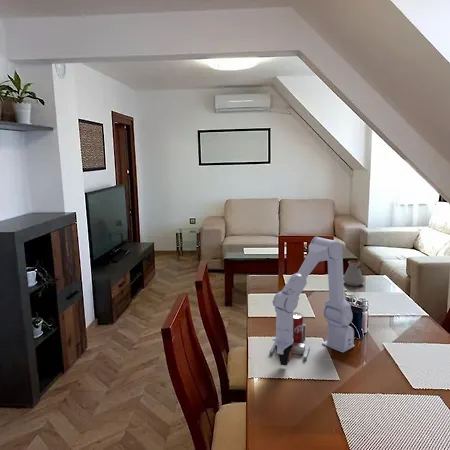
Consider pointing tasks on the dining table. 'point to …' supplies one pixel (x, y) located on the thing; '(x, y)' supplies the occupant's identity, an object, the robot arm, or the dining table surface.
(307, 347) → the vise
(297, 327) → the soda can
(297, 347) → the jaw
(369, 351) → the dining table surface
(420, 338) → the dining table surface
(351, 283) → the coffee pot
